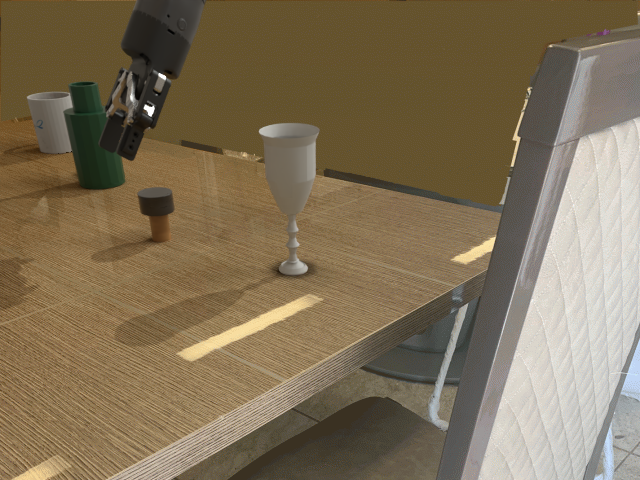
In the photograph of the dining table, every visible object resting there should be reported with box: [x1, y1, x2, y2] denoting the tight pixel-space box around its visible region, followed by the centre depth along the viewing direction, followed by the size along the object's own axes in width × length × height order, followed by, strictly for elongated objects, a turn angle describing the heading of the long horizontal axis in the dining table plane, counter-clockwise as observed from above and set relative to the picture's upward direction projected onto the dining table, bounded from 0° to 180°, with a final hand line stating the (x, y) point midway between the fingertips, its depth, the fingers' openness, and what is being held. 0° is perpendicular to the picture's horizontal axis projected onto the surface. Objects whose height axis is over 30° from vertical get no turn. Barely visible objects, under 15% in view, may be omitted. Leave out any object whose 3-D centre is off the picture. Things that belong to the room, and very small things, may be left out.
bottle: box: [63, 80, 126, 190], centre depth 111 cm, size 8×8×16 cm
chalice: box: [258, 122, 321, 276], centre depth 77 cm, size 7×7×18 cm
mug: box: [26, 91, 73, 155], centre depth 134 cm, size 12×9×10 cm
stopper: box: [136, 186, 175, 243], centre depth 88 cm, size 5×5×8 cm
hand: (114, 153), depth 82 cm, fingers open, 8 cm apart
